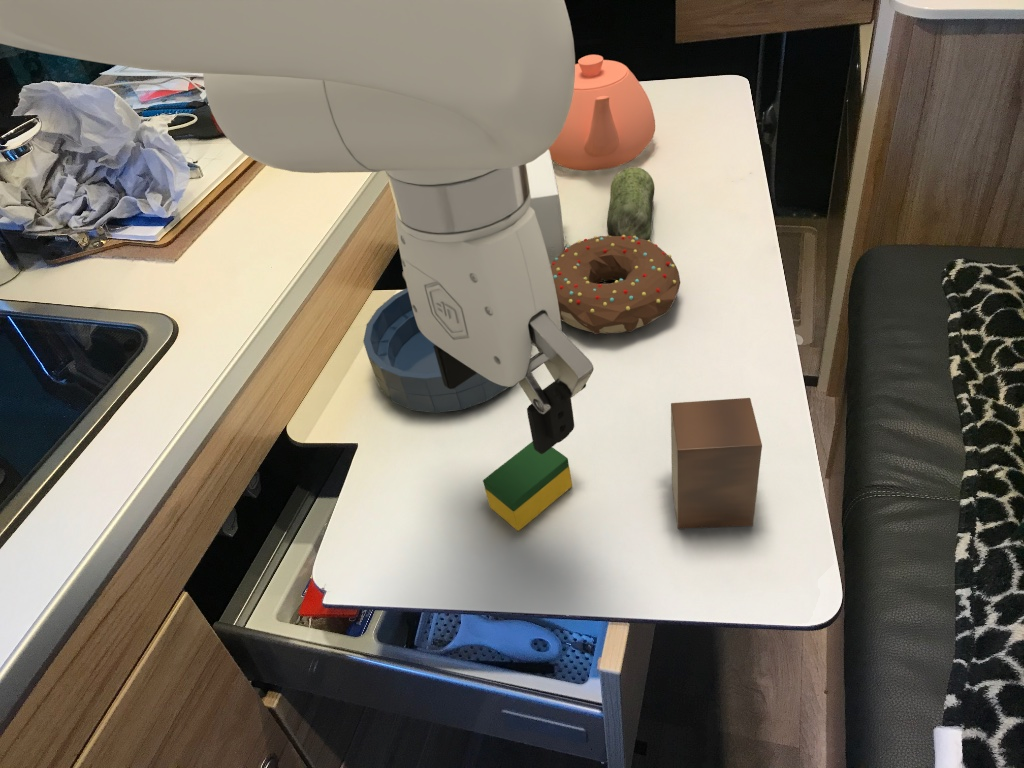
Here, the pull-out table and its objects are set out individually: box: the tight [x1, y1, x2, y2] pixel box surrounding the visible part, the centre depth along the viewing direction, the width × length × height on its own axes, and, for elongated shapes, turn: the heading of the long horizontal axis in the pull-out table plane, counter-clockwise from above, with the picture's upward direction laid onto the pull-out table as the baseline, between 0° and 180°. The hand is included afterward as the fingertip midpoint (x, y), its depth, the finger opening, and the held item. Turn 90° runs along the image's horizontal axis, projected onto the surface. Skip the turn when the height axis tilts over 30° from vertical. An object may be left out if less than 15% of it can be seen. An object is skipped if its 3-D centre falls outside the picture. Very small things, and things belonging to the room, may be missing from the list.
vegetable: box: [606, 166, 656, 241], centre depth 85 cm, size 14×5×5 cm, turn 171°
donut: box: [550, 235, 681, 335], centre depth 75 cm, size 14×14×5 cm
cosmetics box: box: [526, 150, 566, 265], centre depth 82 cm, size 10×6×10 cm, turn 3°
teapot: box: [548, 54, 656, 172], centre depth 97 cm, size 22×16×12 cm
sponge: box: [482, 440, 573, 532], centre depth 59 cm, size 6×4×4 cm, turn 132°
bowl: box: [362, 287, 509, 414], centre depth 72 cm, size 15×15×5 cm
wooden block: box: [670, 397, 763, 530], centre depth 54 cm, size 6×4×9 cm
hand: (506, 407), depth 52 cm, fingers open, 9 cm apart
